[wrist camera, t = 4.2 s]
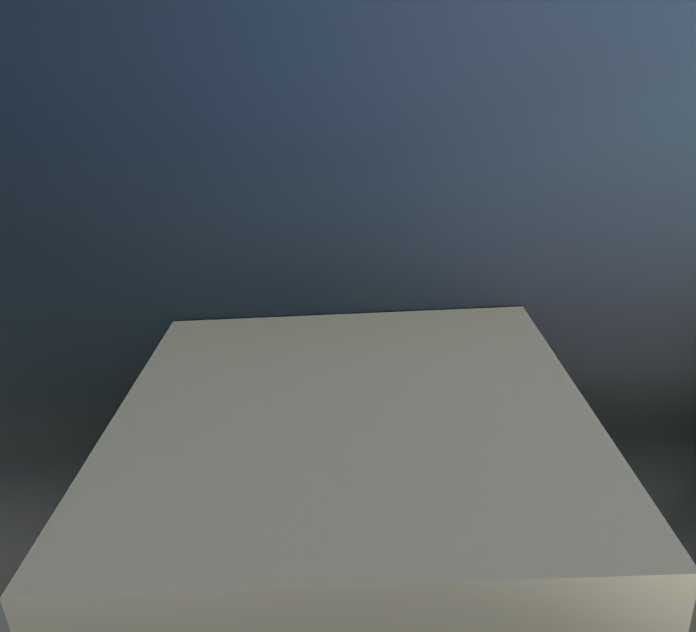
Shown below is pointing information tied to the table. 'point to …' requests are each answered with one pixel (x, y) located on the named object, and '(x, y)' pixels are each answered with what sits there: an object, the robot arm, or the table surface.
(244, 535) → the cream block
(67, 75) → the table surface
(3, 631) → the robot arm
